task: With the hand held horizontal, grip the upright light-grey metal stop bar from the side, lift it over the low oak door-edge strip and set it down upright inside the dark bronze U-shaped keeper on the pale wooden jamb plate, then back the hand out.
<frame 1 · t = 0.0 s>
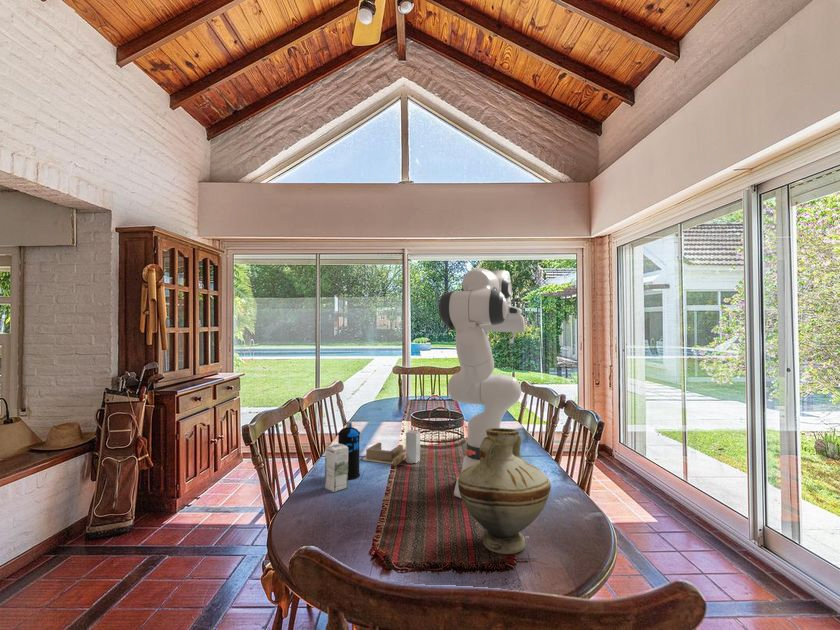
hand: (500, 343, 189), 48 cm above the table, tool pointing down, fingers open, 8 cm apart
amphora: (502, 544, 118), on the table
syrup box: (336, 489, 155), on the table
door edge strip: (402, 460, 186), on the table
keeper: (384, 457, 190), on the table
stop bar: (413, 461, 184), on the table
aerosol can: (348, 476, 167), on the table
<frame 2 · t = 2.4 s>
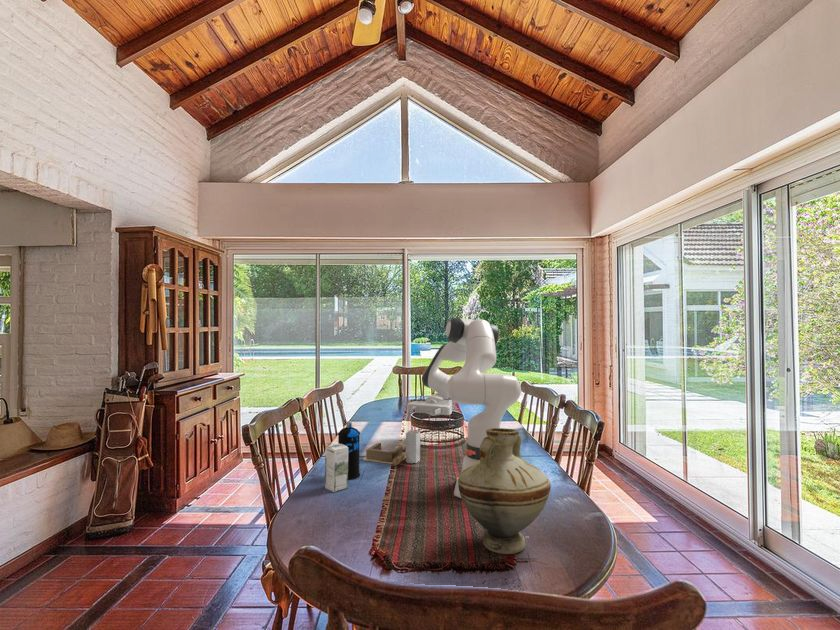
hand: (423, 411, 196), 18 cm above the table, tool horizontal, fingers open, 8 cm apart
nothing on the table moved.
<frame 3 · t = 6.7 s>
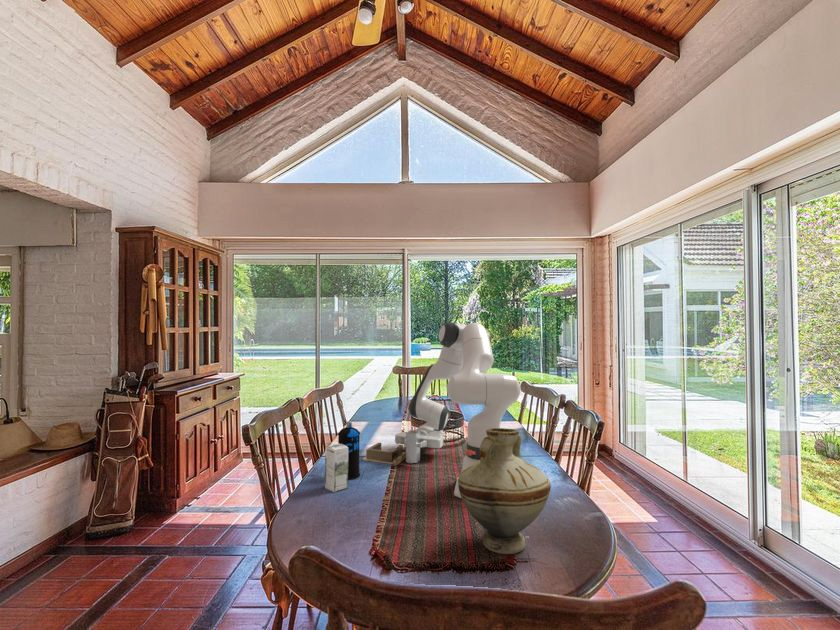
hand: (412, 444, 183), 7 cm above the table, tool horizontal, fingers closed on stop bar, 4 cm apart
stop bar: (413, 461, 184), on the table, touching gripper
everything else where it was.
when the fingers open (8 cm above the table, at t = 12.3 s): stop bar stays where it is, resting on keeper.
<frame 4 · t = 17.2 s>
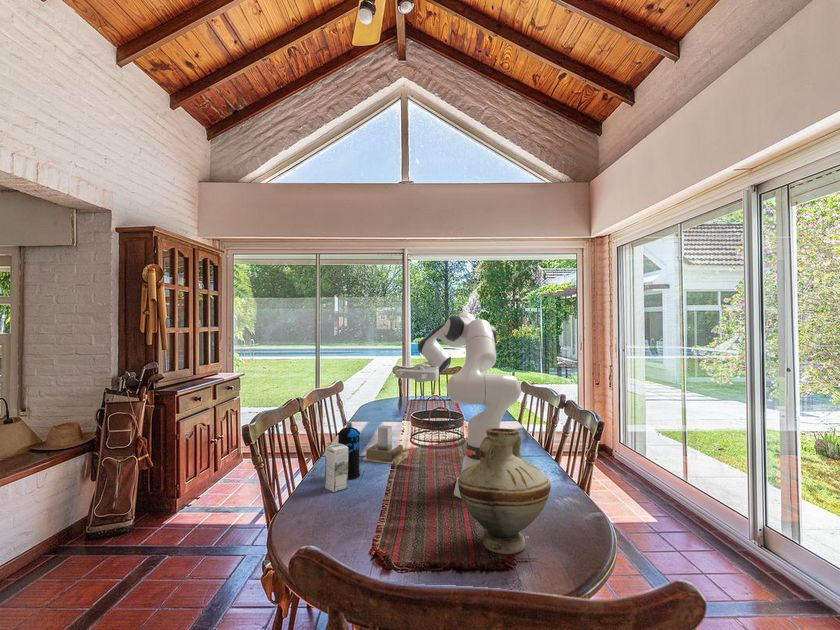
hand: (410, 376, 203), 32 cm above the table, tool horizontal, fingers open, 8 cm apart
stop bar: (384, 455, 190), point 1 cm above the table, touching keeper
everything else where it was.
at the end: stop bar 0.1 cm from the keeper (horizontally); stop bar tilted 0°; stop bar point 0.6 cm above the table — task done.
